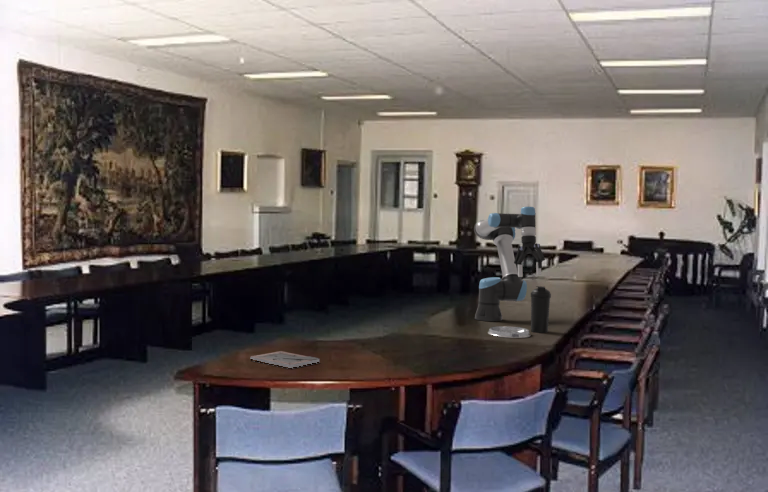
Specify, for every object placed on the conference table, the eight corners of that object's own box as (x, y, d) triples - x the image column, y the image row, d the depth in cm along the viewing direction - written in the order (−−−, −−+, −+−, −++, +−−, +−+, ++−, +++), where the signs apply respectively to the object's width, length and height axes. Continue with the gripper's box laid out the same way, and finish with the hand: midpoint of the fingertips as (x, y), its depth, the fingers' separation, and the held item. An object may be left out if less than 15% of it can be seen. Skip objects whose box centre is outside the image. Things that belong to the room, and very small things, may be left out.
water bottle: (548, 330, 410) (550, 286, 408) (550, 333, 400) (552, 288, 398) (528, 329, 411) (530, 285, 409) (530, 332, 401) (531, 287, 399)
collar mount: (482, 330, 402) (482, 325, 402) (522, 330, 405) (522, 326, 405) (495, 337, 381) (495, 332, 381) (536, 338, 385) (536, 332, 384)
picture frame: (319, 364, 310) (280, 356, 323) (319, 358, 310) (280, 350, 323) (289, 370, 297) (250, 362, 310) (289, 364, 297) (250, 355, 310)
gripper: (507, 238, 427) (507, 277, 424) (540, 232, 406) (541, 273, 404) (517, 239, 431) (517, 277, 428) (551, 233, 411) (552, 274, 408)
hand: (529, 275), depth 416 cm, fingers open, 13 cm apart
